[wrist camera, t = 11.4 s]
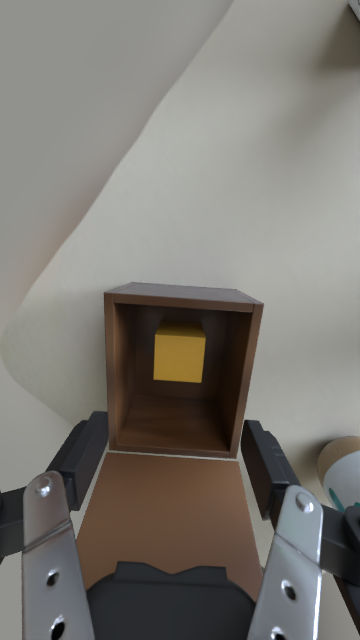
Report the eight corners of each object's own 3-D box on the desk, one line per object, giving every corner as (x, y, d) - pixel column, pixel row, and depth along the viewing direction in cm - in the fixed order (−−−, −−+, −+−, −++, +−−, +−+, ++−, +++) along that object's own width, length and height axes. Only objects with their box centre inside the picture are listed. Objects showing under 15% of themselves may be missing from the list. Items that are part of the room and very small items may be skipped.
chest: (131, 282, 25) (103, 292, 16) (236, 289, 25) (264, 303, 16) (130, 395, 29) (108, 450, 20) (221, 401, 29) (236, 459, 20)
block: (198, 361, 26) (201, 383, 21) (159, 358, 26) (153, 379, 21) (201, 323, 25) (206, 338, 20) (160, 320, 25) (154, 334, 20)
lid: (-139, 1154, 5) (-121, 1128, 5) (395, 1195, 5) (379, 1166, 5) (106, 452, 20) (107, 457, 20) (238, 461, 20) (236, 466, 20)
